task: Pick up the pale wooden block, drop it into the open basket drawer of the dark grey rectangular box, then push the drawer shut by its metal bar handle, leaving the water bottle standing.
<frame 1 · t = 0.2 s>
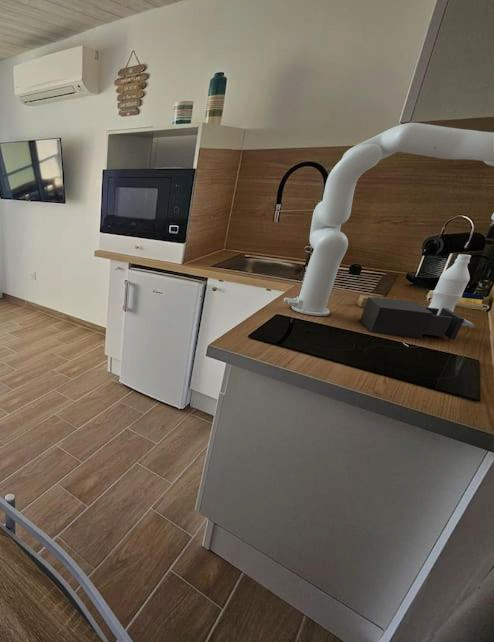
water bottle: (434, 322, 137), on the table
dark grey rectangular box: (389, 328, 131), on the table
drawer: (434, 321, 125), point 5 cm above the table, slide at 7.0 cm
block: (364, 306, 153), on the table
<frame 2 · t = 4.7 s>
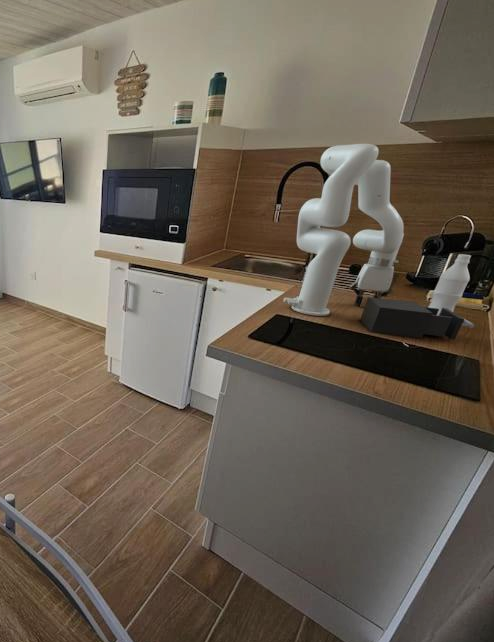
hand: (364, 305, 153), 0 cm above the table, tool pointing down, fingers closed on block, 4 cm apart
block: (364, 306, 153), on the table, touching gripper
everything else where it was.
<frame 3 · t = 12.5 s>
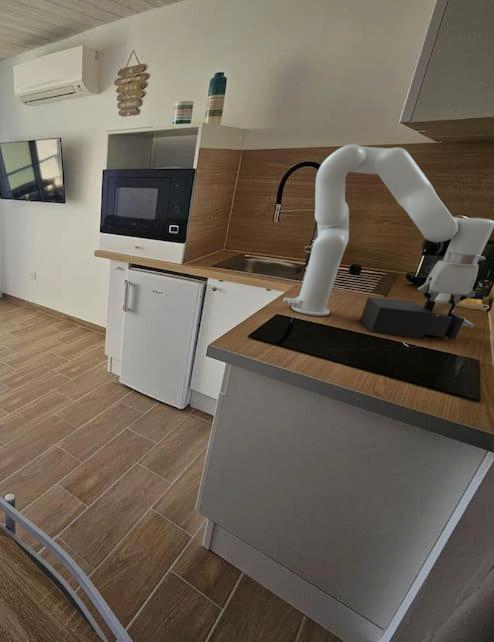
hand: (436, 312, 124), 8 cm above the table, tool pointing down, fingers closed on block, 4 cm apart
block: (436, 312, 124), point 8 cm above the table, touching gripper
everything else where it was.
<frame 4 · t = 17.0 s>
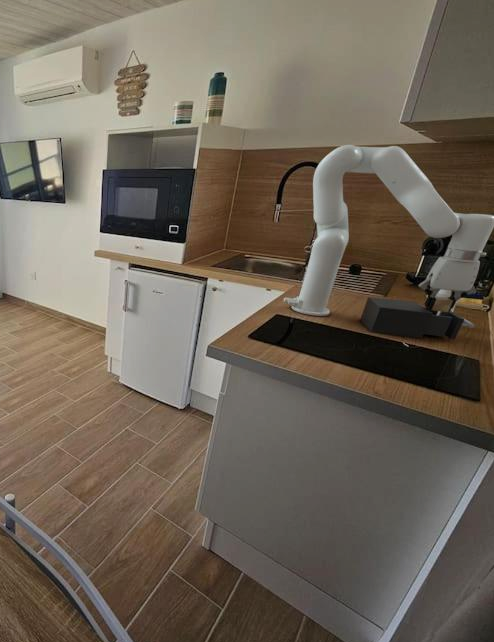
hand: (437, 308, 124), 9 cm above the table, tool pointing down, fingers closed on block, 3 cm apart
block: (436, 309, 124), point 9 cm above the table, touching gripper
everything else where it was.
when the fingers open (10 cm above the table, at t = 21.3 s): block drops 6 cm and tips over, resting on drawer.
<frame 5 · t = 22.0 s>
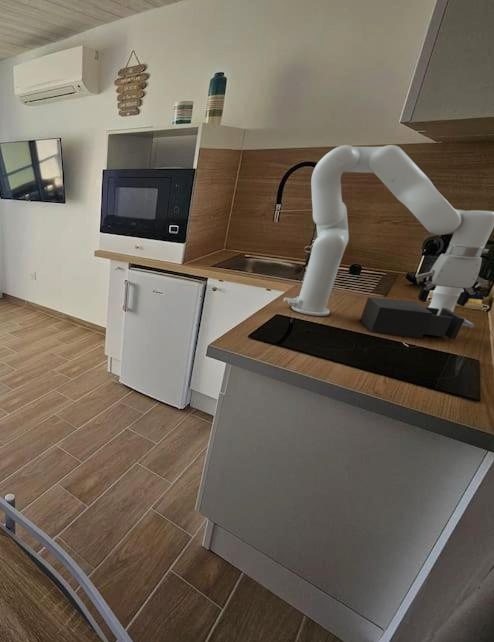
hand: (440, 302, 123), 11 cm above the table, tool pointing down, fingers open, 9 cm apart
drawer: (434, 321, 125), point 5 cm above the table, slide at 7.0 cm, touching block
block: (423, 322, 126), point 4 cm above the table, tilted 90°, touching drawer
everything else where it was.
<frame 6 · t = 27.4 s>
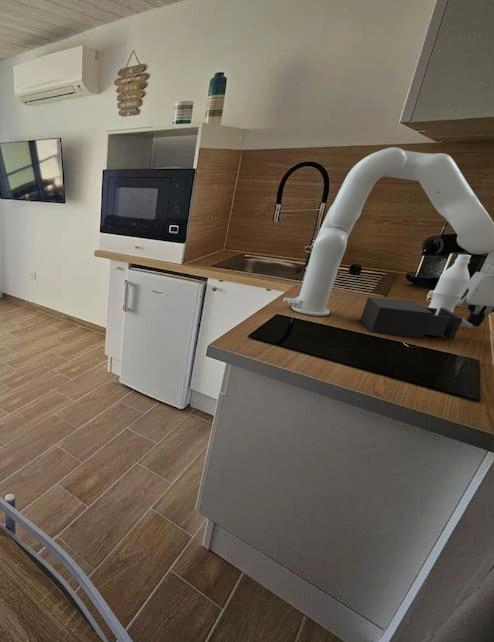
hand: (472, 324, 122), 5 cm above the table, tool pointing down, fingers closed
drawer: (433, 321, 125), point 5 cm above the table, slide at 6.6 cm, touching block, gripper
everything else where it was.
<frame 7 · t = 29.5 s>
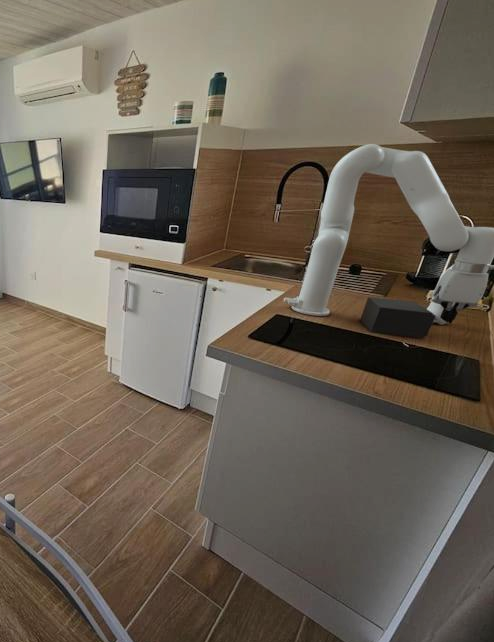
hand: (445, 321, 124), 5 cm above the table, tool pointing down, fingers closed
drawer: (408, 318, 128), point 5 cm above the table, slide at 0.0 cm, touching block, dark grey rectangular box, gripper
block: (397, 318, 129), point 4 cm above the table, tilted 90°, touching drawer
everything else where it was.
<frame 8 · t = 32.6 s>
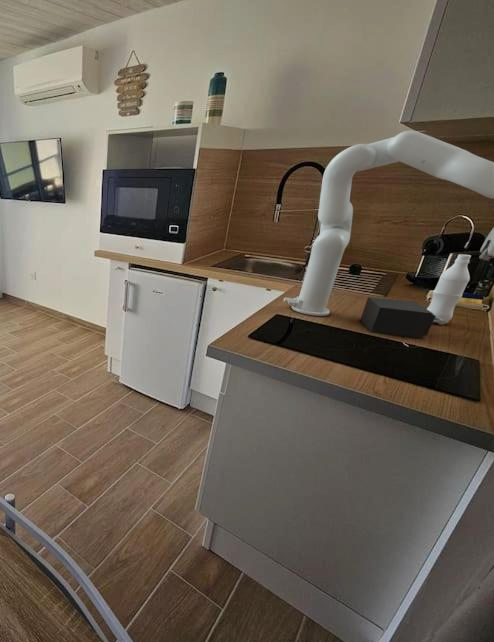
drawer: (408, 318, 128), point 5 cm above the table, slide at 0.0 cm, touching block, dark grey rectangular box
everything else where it was.
at the end: drawer slide at 0.0 cm; block inside the target area in the dark grey rectangular box (1.1 cm from its centre), point 4.0 cm above the dark grey rectangular box's base; water bottle moved 0.2 cm from its start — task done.
